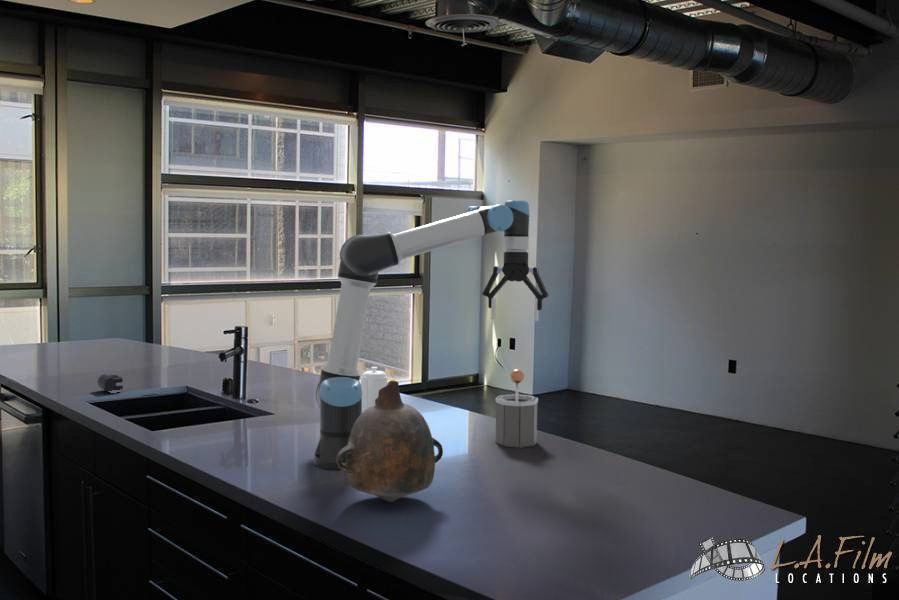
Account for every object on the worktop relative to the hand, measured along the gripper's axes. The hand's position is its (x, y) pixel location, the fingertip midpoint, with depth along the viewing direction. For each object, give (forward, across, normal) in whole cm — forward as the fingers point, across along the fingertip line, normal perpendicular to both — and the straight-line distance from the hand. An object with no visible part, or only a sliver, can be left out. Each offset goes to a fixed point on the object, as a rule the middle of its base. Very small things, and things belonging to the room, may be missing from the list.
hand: (514, 320), depth 255 cm
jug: (+39, +14, +66) cm, 78 cm away
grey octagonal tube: (+38, -1, -2) cm, 39 cm away
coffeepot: (+39, +53, -13) cm, 67 cm away
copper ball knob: (+36, -1, 0) cm, 37 cm away
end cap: (+40, +174, -24) cm, 180 cm away
